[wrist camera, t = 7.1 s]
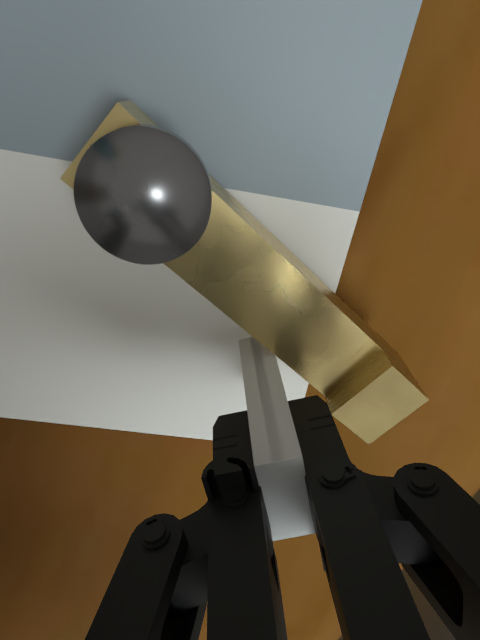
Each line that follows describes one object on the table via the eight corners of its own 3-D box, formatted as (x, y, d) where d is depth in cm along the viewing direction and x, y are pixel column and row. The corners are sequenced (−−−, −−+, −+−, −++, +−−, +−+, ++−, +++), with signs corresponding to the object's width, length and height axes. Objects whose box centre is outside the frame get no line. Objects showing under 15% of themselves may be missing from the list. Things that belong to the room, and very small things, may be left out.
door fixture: (-17, 390, 21) (-72, 462, 17) (-90, -423, 10) (-273, -725, 7) (284, 425, 22) (298, 497, 18) (475, -250, 12) (597, -408, 8)
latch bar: (70, 178, 14) (36, 200, 12) (141, 86, 13) (122, 86, 11) (338, 400, 19) (357, 452, 16) (408, 344, 18) (441, 390, 15)
